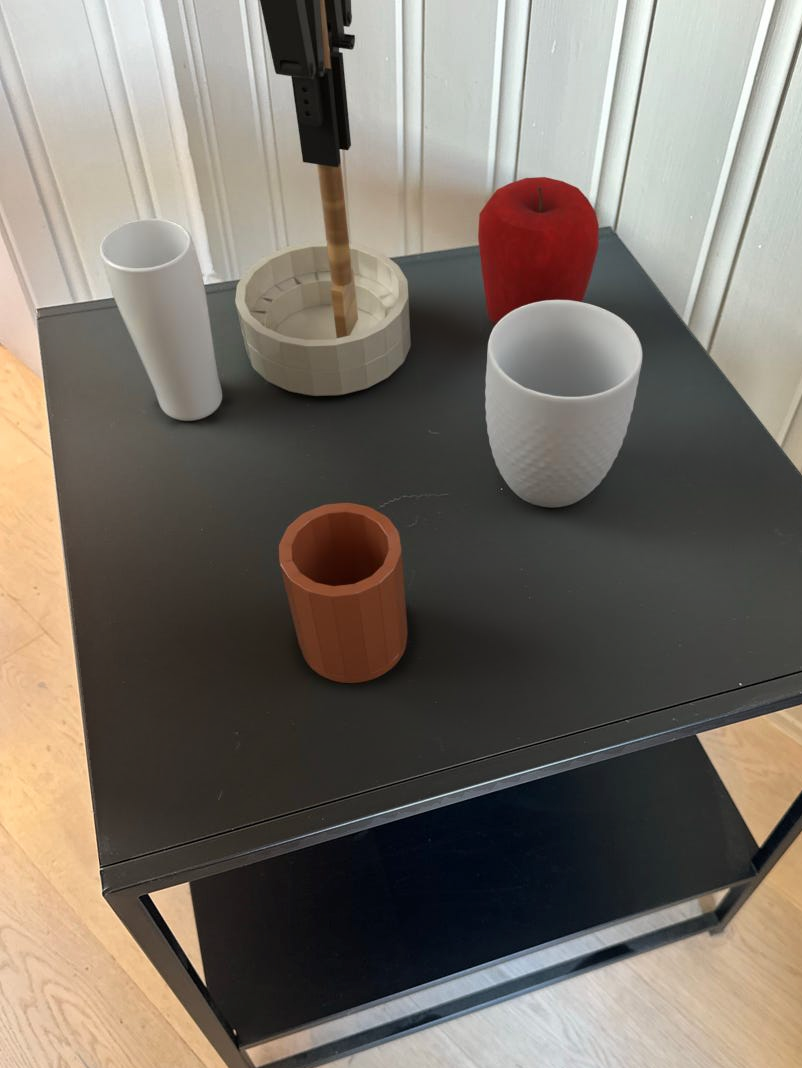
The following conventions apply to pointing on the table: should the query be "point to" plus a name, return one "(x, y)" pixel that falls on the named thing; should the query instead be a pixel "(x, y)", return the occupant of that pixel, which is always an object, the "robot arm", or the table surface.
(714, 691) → the table surface
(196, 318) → the white cylinder cup
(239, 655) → the table surface
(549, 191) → the apple
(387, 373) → the bowl
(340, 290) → the wooden rod
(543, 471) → the mug
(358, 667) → the crock
